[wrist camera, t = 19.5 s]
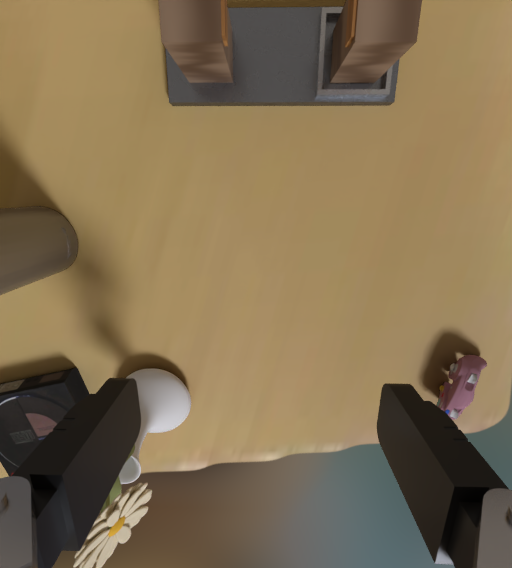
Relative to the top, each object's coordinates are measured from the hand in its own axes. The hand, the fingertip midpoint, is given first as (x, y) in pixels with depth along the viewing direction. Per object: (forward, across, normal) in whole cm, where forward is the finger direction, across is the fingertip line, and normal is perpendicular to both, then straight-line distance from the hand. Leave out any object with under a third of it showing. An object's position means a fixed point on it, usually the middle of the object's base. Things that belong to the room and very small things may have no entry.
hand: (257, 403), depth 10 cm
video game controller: (+33, -29, +21) cm, 49 cm away
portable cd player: (+34, +35, +30) cm, 57 cm away
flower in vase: (+33, +16, +24) cm, 44 cm away
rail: (+33, -2, -21) cm, 39 cm away
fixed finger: (+32, +6, -21) cm, 38 cm away
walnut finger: (+32, -10, -21) cm, 39 cm away
